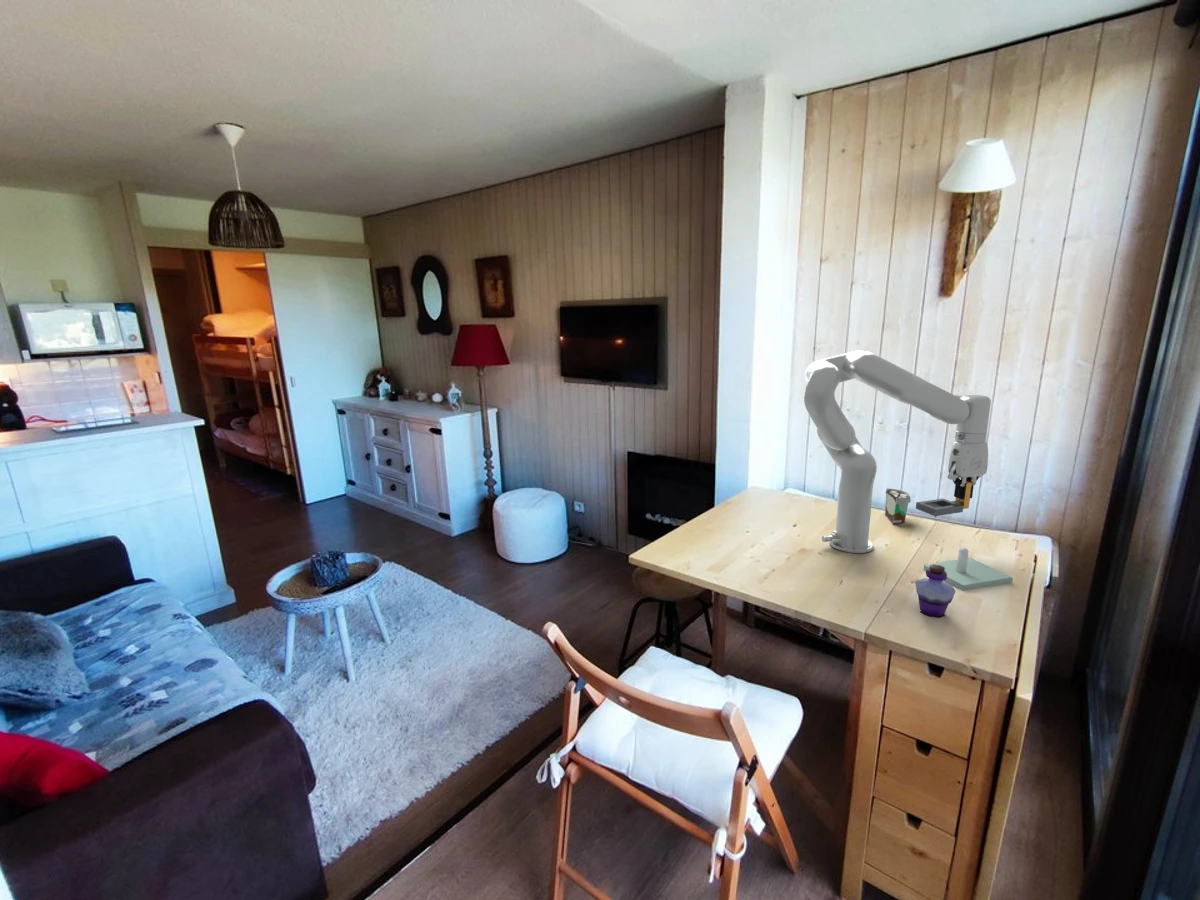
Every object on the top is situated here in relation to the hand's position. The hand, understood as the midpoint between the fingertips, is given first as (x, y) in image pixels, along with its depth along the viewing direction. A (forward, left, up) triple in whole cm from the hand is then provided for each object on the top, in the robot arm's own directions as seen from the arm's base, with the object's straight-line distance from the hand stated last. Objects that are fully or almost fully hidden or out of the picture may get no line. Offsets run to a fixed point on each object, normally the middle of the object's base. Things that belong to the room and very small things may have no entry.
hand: (962, 497), depth 164 cm
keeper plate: (-12, -15, -17) cm, 25 cm away
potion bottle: (-36, -28, -17) cm, 48 cm away
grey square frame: (-6, 0, -3) cm, 7 cm away
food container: (+2, +26, -17) cm, 32 cm away
